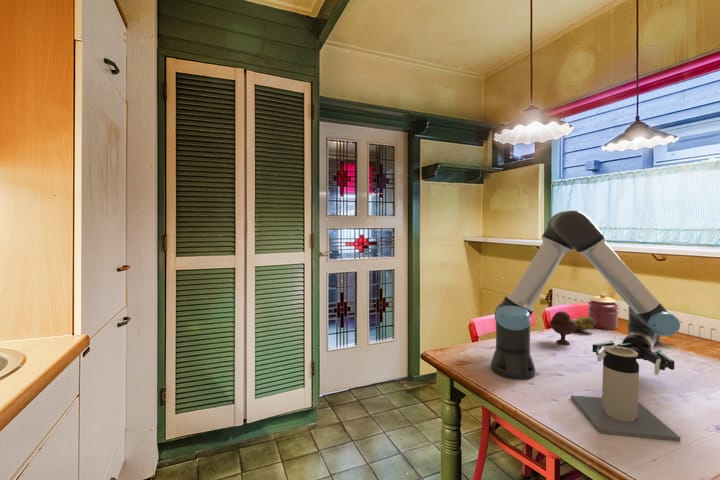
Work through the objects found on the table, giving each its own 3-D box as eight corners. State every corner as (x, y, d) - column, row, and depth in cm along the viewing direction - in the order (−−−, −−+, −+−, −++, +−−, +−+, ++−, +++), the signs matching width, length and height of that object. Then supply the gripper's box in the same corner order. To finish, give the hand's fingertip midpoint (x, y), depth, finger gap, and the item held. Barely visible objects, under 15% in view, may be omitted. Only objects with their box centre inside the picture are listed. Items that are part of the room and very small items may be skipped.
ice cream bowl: (581, 348, 147) (582, 314, 147) (554, 346, 149) (554, 313, 149) (571, 340, 158) (571, 308, 157) (545, 338, 160) (546, 307, 159)
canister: (600, 330, 171) (601, 296, 171) (582, 323, 184) (582, 291, 183) (624, 329, 172) (625, 295, 172) (604, 322, 185) (604, 290, 185)
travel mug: (645, 421, 90) (647, 356, 89) (614, 420, 91) (616, 355, 90) (624, 405, 98) (625, 345, 97) (595, 404, 99) (597, 345, 98)
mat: (599, 433, 87) (600, 428, 87) (570, 398, 105) (570, 394, 105) (680, 441, 84) (680, 436, 84) (636, 403, 101) (636, 399, 101)
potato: (567, 327, 178) (568, 312, 177) (596, 332, 168) (597, 316, 168) (562, 330, 172) (562, 315, 172) (592, 336, 162) (592, 320, 162)
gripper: (687, 366, 106) (683, 389, 91) (593, 346, 124) (577, 363, 109) (688, 343, 105) (684, 362, 91) (594, 326, 124) (578, 341, 109)
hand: (626, 363), depth 100 cm, fingers open, 13 cm apart
